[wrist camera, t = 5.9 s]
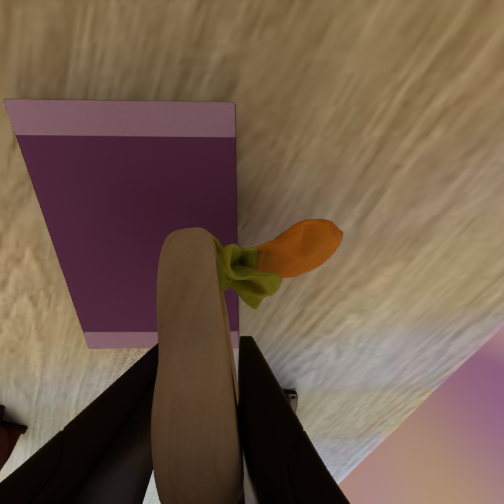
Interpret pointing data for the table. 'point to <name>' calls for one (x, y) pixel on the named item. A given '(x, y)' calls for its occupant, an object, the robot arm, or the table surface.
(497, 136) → the table surface
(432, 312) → the table surface
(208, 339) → the rattle
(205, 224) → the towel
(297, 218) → the table surface
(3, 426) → the mate gourd
